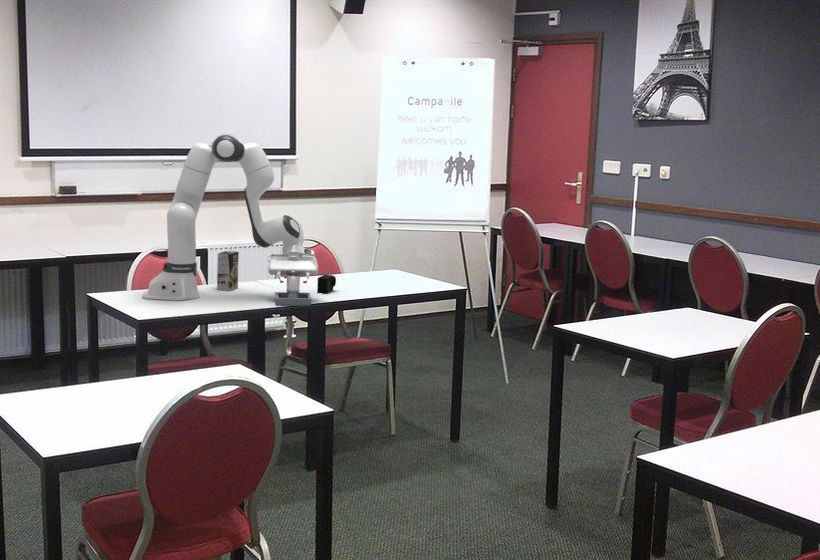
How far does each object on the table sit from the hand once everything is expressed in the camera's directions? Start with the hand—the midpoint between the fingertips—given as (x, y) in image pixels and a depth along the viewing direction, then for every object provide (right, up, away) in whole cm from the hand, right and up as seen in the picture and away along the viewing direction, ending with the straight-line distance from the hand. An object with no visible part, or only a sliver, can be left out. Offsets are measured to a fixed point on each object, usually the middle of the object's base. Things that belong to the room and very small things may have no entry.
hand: (293, 282), depth 388 cm
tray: (0, -8, +2) cm, 9 cm away
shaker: (0, -8, +2) cm, 8 cm away
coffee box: (-32, -3, +27) cm, 42 cm away
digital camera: (+11, -5, +30) cm, 32 cm away
